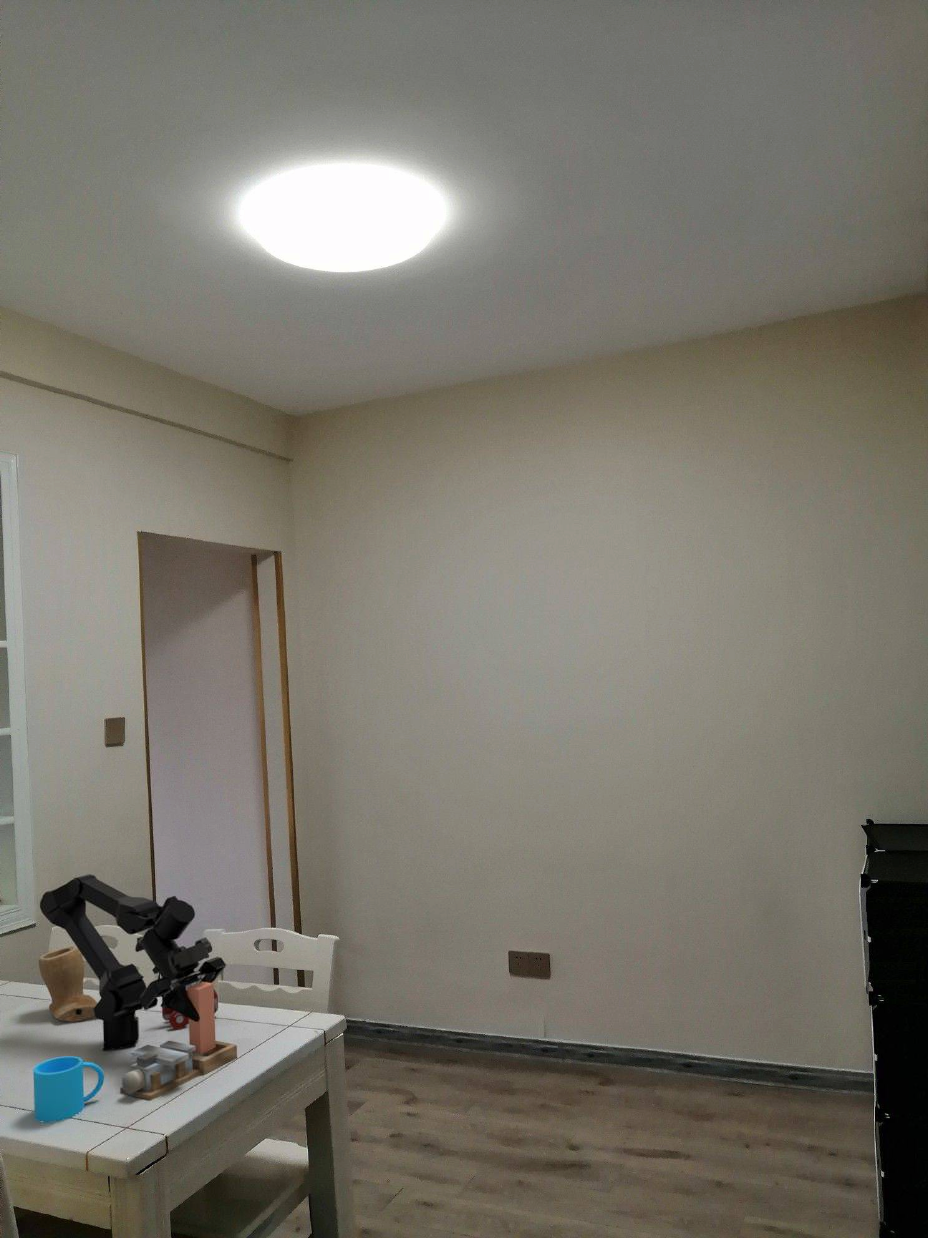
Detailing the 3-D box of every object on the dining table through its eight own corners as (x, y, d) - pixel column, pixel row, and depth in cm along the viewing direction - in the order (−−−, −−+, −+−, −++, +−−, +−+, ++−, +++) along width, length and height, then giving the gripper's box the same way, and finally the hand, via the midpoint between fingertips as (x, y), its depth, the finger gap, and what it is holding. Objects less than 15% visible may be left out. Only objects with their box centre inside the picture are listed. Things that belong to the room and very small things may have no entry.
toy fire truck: (221, 1022, 219) (219, 974, 220) (163, 1033, 214) (161, 984, 215) (215, 1012, 226) (214, 966, 226) (159, 1023, 221) (157, 975, 221)
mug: (41, 1127, 171) (39, 1079, 172) (29, 1111, 178) (28, 1065, 178) (111, 1106, 179) (110, 1059, 179) (97, 1092, 185) (96, 1047, 186)
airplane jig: (199, 1050, 203) (198, 1019, 204) (240, 1058, 198) (238, 1026, 198) (108, 1094, 184) (107, 1060, 184) (150, 1105, 178) (149, 1069, 178)
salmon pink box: (189, 1052, 196) (187, 987, 196) (204, 1045, 199) (202, 981, 200) (200, 1054, 194) (198, 989, 195) (215, 1047, 198) (213, 983, 198)
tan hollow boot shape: (36, 1012, 232) (34, 947, 233) (90, 1001, 238) (88, 937, 239) (47, 1031, 219) (45, 961, 220) (103, 1018, 225) (101, 951, 226)
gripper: (148, 940, 192) (191, 1006, 186) (218, 917, 208) (259, 977, 202) (121, 977, 195) (162, 1043, 189) (192, 951, 211) (232, 1011, 205)
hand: (206, 1017), depth 196 cm, fingers closed on salmon pink box, 4 cm apart
